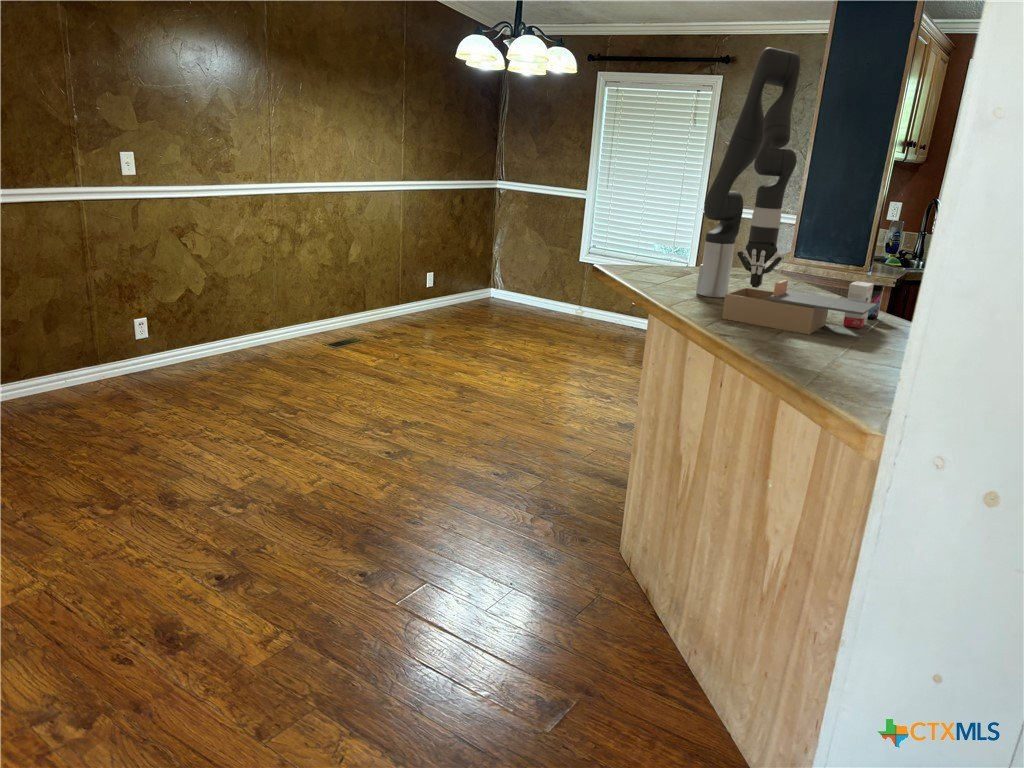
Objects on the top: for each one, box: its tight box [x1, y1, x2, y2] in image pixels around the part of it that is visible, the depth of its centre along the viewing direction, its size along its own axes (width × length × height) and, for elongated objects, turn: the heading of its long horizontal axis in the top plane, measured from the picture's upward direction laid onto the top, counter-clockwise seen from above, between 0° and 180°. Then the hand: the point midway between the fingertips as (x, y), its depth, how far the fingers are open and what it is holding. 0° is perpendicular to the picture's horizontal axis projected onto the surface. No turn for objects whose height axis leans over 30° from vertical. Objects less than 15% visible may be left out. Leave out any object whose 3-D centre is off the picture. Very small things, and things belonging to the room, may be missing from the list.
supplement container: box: [859, 280, 885, 321], centre depth 216 cm, size 7×7×10 cm
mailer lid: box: [766, 279, 877, 315], centre depth 196 cm, size 24×16×4 cm
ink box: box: [842, 281, 874, 329], centre depth 205 cm, size 9×5×12 cm, turn 144°
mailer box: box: [721, 286, 829, 335], centre depth 205 cm, size 24×16×7 cm, turn 54°
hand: (755, 287), depth 207 cm, fingers closed
